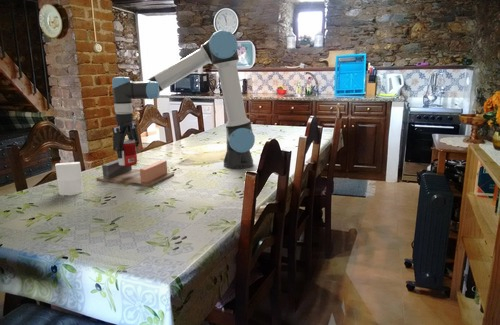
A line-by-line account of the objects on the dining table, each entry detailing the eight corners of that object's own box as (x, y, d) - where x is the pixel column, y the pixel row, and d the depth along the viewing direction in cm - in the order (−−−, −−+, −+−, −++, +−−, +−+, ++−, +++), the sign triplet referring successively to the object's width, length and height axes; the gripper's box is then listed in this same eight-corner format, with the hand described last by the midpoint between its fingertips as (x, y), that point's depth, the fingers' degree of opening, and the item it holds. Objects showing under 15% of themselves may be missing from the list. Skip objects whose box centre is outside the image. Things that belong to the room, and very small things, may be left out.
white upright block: (57, 196, 147) (52, 167, 144) (61, 189, 155) (57, 161, 152) (81, 194, 149) (78, 165, 146) (85, 187, 158) (81, 160, 155)
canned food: (139, 162, 174) (137, 139, 171) (132, 166, 166) (130, 142, 163) (123, 161, 174) (121, 138, 172) (116, 166, 167) (114, 142, 164)
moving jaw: (167, 172, 174) (166, 160, 172) (146, 182, 159) (145, 169, 158) (161, 172, 175) (160, 160, 173) (140, 182, 160) (139, 169, 159)
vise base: (174, 175, 174) (173, 160, 172) (151, 186, 158) (150, 171, 156) (123, 170, 184) (121, 156, 182) (96, 180, 167) (95, 165, 166)
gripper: (131, 109, 175) (135, 157, 181) (100, 115, 156) (105, 167, 162) (145, 110, 173) (148, 158, 178) (114, 116, 154) (119, 169, 159)
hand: (128, 162), depth 170 cm, fingers closed on canned food, 8 cm apart
